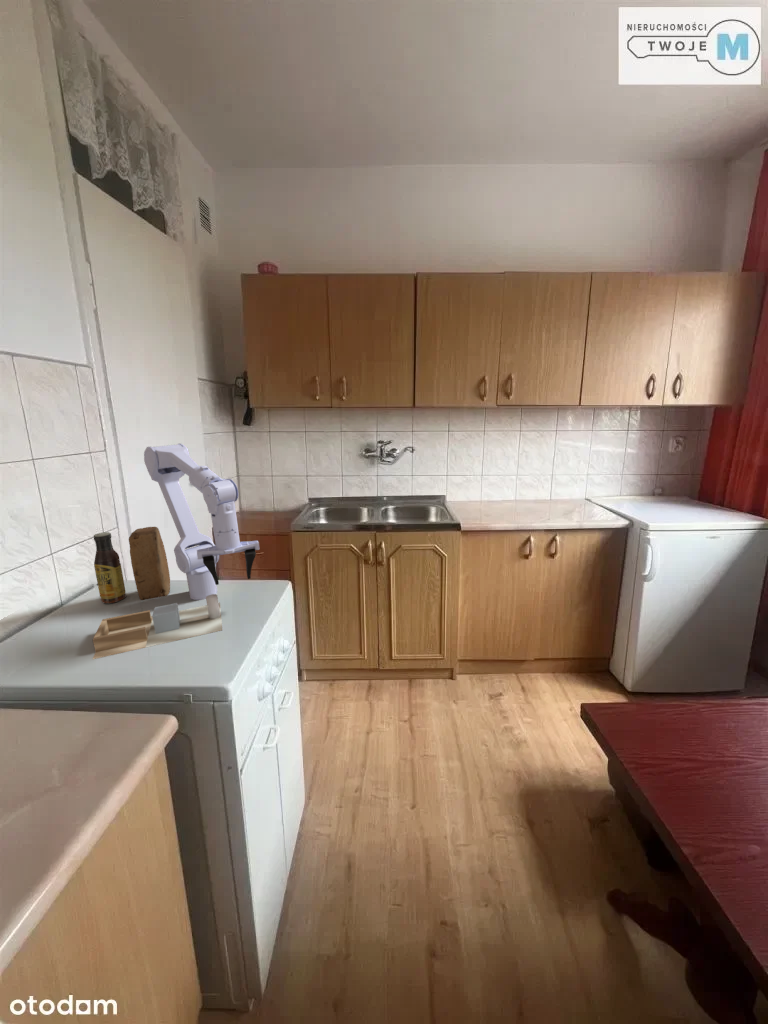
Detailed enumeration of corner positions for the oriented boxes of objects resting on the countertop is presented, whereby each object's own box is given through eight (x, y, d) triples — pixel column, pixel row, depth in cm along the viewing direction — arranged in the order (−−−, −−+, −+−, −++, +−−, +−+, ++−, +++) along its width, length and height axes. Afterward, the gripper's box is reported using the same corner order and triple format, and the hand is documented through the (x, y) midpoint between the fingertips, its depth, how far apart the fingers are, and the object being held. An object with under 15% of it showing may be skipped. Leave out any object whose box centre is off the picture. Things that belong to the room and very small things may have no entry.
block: (166, 600, 119) (153, 533, 114) (137, 604, 118) (123, 536, 113) (174, 585, 129) (163, 522, 124) (148, 589, 128) (135, 525, 123)
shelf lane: (108, 630, 104) (105, 613, 103) (220, 607, 114) (218, 592, 112) (93, 665, 90) (89, 646, 89) (223, 635, 99) (220, 618, 98)
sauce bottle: (96, 603, 119) (80, 536, 114) (115, 594, 125) (101, 530, 120) (114, 605, 117) (98, 538, 113) (132, 596, 123) (119, 531, 118)
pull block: (157, 624, 103) (153, 603, 102) (220, 611, 108) (216, 591, 107) (155, 633, 99) (151, 612, 97) (220, 619, 104) (217, 599, 102)
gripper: (193, 538, 98) (202, 592, 101) (258, 528, 103) (264, 580, 106) (194, 530, 104) (202, 581, 107) (254, 522, 109) (261, 570, 113)
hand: (233, 580), depth 107 cm, fingers open, 7 cm apart
